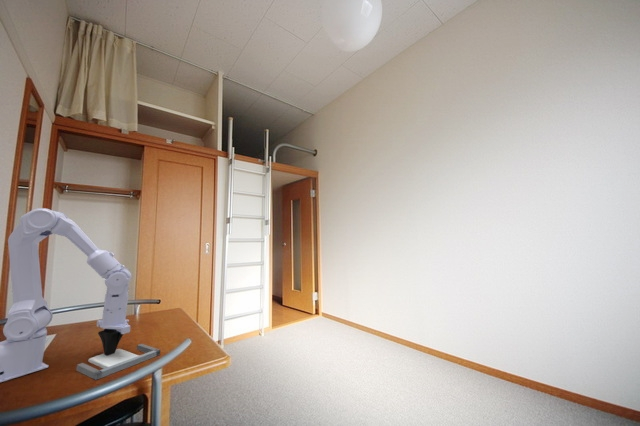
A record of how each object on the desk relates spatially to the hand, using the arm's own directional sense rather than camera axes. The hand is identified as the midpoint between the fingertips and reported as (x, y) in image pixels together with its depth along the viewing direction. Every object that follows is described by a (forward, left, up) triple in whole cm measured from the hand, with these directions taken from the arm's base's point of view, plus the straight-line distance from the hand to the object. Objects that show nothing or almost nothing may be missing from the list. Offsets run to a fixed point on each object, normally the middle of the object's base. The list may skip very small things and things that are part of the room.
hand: (109, 354), depth 75 cm
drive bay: (0, -6, -1) cm, 7 cm away
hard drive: (0, -4, -2) cm, 4 cm away
